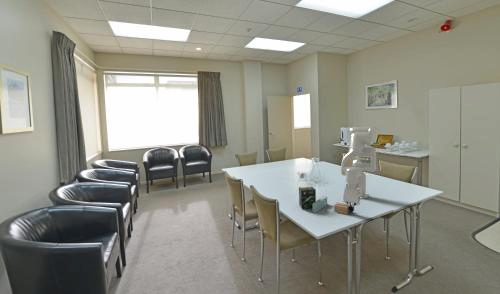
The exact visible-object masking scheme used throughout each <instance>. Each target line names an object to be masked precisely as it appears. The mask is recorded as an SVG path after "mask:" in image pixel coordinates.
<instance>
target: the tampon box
mask: <svg viewBox="0 0 500 294" xmlns="http://www.w3.org/2000/svg"><path fill="white" fill-rule="evenodd" d="M316 195H317V190H316V189H315V187H314V186H300V187H298V203H299V206H300V208H301V210H313V206H312V204H313V203H314V202H316V201H317V198H316V197H317V196H316Z"/></svg>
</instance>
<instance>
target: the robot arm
mask: <svg viewBox="0 0 500 294" xmlns="http://www.w3.org/2000/svg"><path fill="white" fill-rule="evenodd" d="M348 132H349V135H350V137H349V138H350V139H349V141H350V142H349V149H348V152H347V153H346V154H345V155H344V156H343V157H342V159H341V165H340V174H341V175H342V176H345V187H344V189H343V201H342V203H344V204H348V206H349V210H350V211H349V213H353V212H354V211H355V206H358V205H359V206H360V204H361V199H368V198H369V195H368V194H367V176H366V173H365V172H375V171H376V170H377V151H376V147H374V146H367V145H370V144H372V142H373V139H374V136H375V129H374V127H372V126H353V127H350V128H349V131H348ZM352 158H356V159H354V160H353V161H352V163H351V164H352V165H347V162H348V161H349V160H350V159H352Z"/></svg>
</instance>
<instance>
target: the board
mask: <svg viewBox="0 0 500 294" xmlns="http://www.w3.org/2000/svg"><path fill="white" fill-rule="evenodd" d="M327 205H328V196H324V195H323V196H321V197H320V198H319V199H316V202H314V203H313V204H312V206H313V209H312V213H315V214H316V213H318V212H319V211H320V210H322V209H323V208H324V207H327Z"/></svg>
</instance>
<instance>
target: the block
mask: <svg viewBox="0 0 500 294" xmlns="http://www.w3.org/2000/svg"><path fill="white" fill-rule="evenodd" d="M333 210H334V211H333V213H338V214H342V215H343V214H344V215H348V214H349V213H350V210H349V206H348V204H347V203H345V202H336V203H335V204H334V205H333Z"/></svg>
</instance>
